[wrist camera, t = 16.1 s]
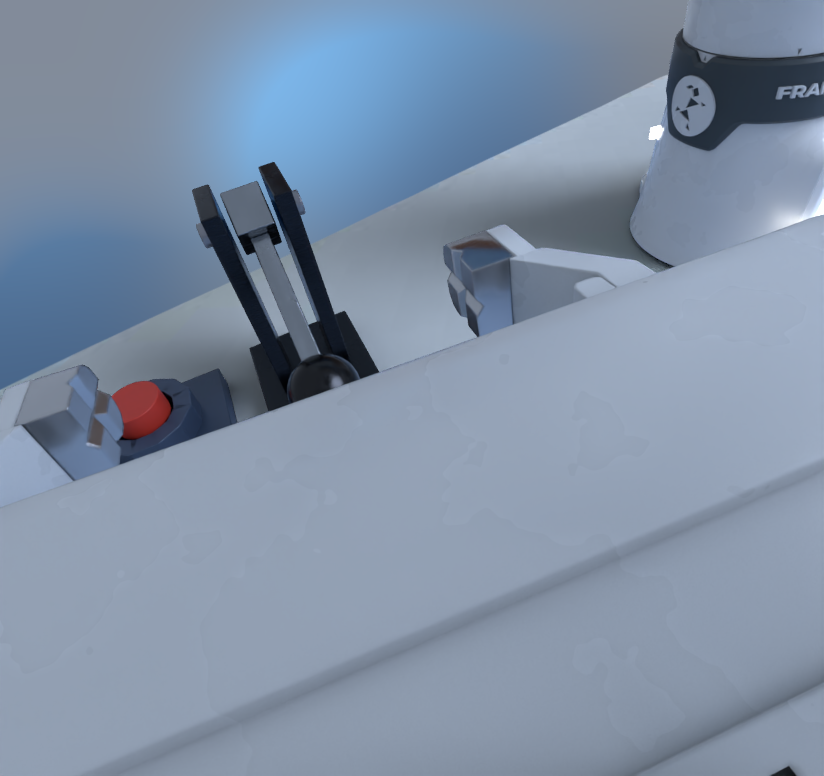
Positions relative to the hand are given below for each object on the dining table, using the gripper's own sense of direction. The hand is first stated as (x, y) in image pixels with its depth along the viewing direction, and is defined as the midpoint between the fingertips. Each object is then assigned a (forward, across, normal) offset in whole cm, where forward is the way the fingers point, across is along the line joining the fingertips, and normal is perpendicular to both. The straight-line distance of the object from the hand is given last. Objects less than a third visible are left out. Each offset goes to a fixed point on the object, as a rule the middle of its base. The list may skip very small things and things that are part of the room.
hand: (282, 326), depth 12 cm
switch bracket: (+22, 0, +18) cm, 29 cm away
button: (+20, +12, +15) cm, 28 cm away
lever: (+18, 0, +10) cm, 21 cm away
